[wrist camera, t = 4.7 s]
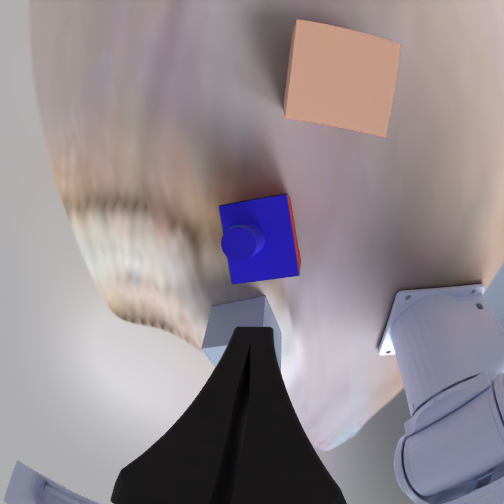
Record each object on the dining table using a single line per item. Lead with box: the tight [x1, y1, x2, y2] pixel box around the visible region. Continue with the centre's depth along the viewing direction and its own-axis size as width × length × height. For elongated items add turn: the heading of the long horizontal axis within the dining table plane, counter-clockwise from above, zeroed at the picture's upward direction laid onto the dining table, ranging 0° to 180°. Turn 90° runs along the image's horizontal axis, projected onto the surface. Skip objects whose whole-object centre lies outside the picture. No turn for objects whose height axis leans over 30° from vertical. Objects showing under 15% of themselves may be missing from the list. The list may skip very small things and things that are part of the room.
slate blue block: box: [201, 296, 281, 372], centre depth 22 cm, size 4×4×4 cm
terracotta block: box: [283, 19, 401, 138], centre depth 12 cm, size 4×4×4 cm
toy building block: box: [219, 194, 301, 284], centre depth 16 cm, size 4×4×8 cm
